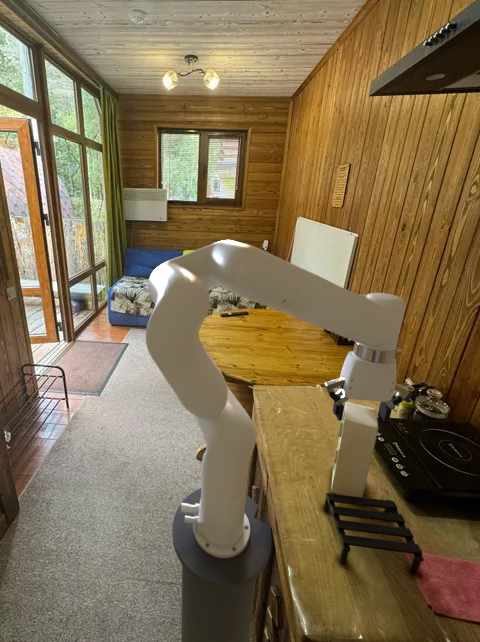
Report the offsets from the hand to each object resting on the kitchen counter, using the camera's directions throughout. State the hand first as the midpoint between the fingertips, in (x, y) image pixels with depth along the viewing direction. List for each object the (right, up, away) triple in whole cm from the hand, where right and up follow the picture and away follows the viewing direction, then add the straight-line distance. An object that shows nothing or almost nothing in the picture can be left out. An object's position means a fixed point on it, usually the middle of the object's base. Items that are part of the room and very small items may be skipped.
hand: (359, 418), depth 70 cm
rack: (-2, -23, -7) cm, 24 cm away
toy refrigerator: (-1, -19, +6) cm, 20 cm away
